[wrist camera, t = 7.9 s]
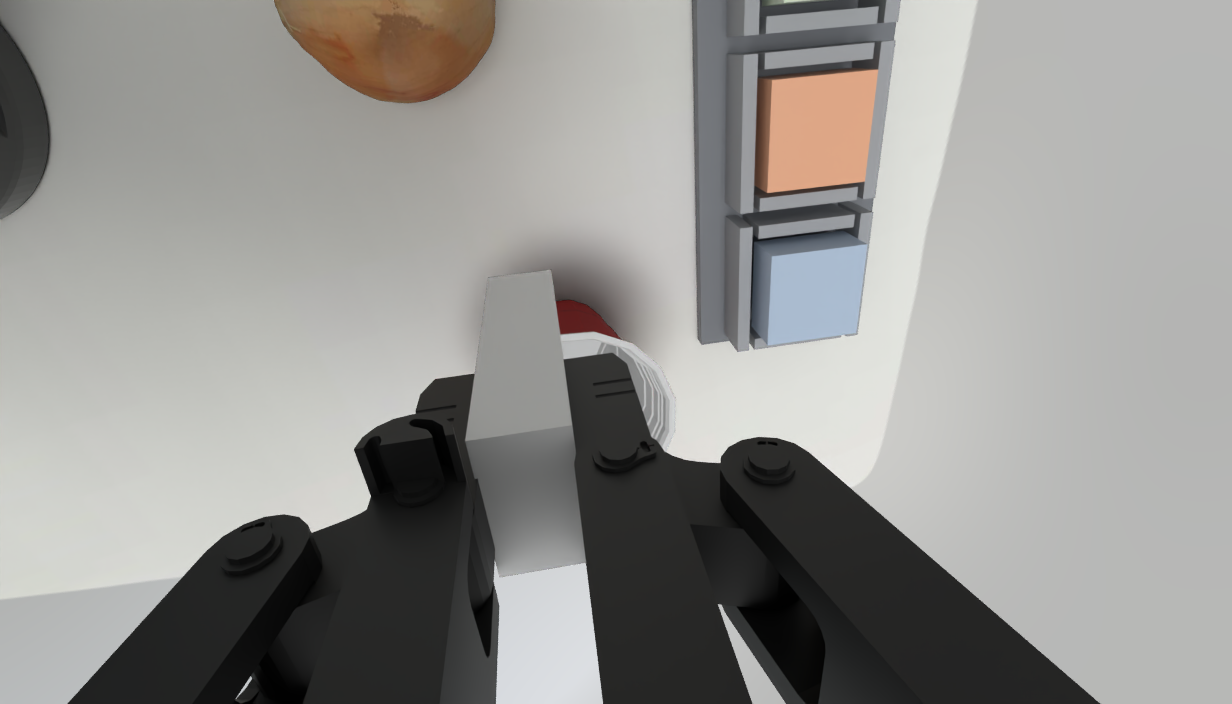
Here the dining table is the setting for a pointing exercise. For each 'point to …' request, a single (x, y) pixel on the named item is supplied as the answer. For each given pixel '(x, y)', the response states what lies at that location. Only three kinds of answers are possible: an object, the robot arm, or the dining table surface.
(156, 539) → the dining table surface
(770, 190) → the button terracotta
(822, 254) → the button slate
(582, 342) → the plastic cup
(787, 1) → the button sage
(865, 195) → the console
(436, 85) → the onion
